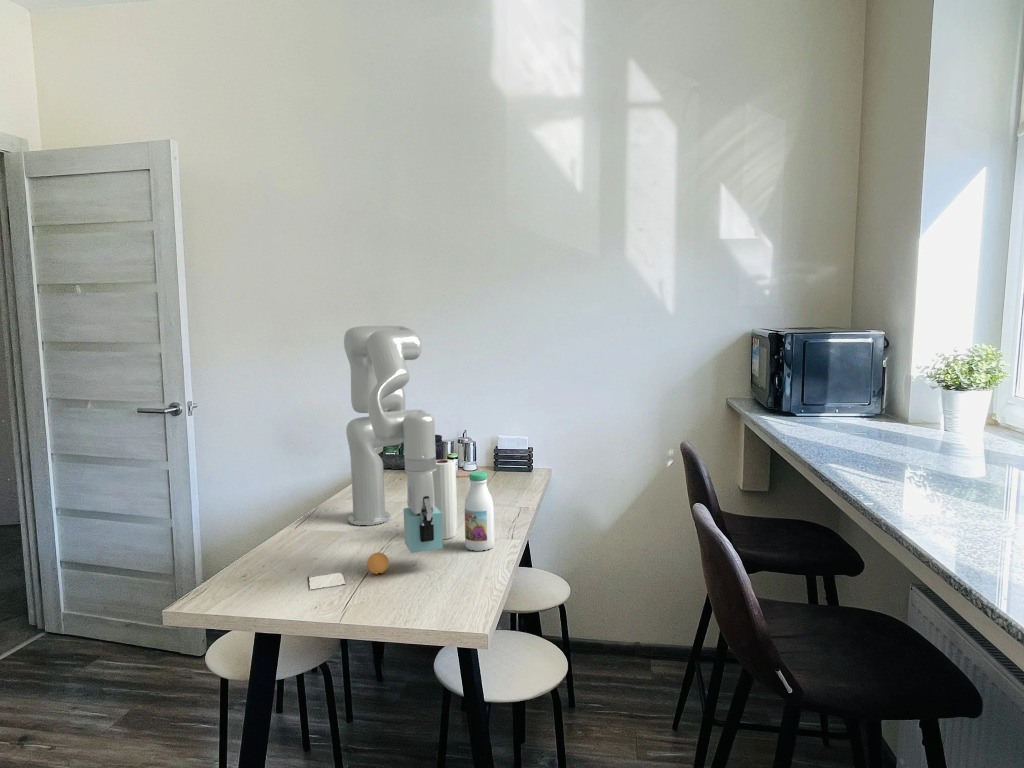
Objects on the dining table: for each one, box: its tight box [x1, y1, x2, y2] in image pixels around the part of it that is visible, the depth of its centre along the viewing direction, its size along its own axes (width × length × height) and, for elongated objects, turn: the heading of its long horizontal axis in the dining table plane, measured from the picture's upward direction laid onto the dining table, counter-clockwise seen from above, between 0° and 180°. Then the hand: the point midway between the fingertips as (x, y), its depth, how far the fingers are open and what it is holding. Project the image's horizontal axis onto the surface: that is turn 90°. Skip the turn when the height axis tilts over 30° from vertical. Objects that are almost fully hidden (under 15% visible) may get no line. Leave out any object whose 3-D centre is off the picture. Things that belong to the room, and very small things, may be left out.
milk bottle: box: [464, 471, 495, 552], centre depth 172 cm, size 8×8×20 cm
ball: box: [366, 551, 390, 575], centre depth 156 cm, size 5×5×5 cm
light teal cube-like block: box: [403, 506, 444, 554], centre depth 158 cm, size 8×8×9 cm
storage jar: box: [435, 434, 443, 460], centre depth 256 cm, size 10×10×15 cm
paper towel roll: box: [432, 458, 458, 540], centre depth 181 cm, size 7×6×21 cm
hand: (423, 535), depth 159 cm, fingers closed on light teal cube-like block, 7 cm apart
